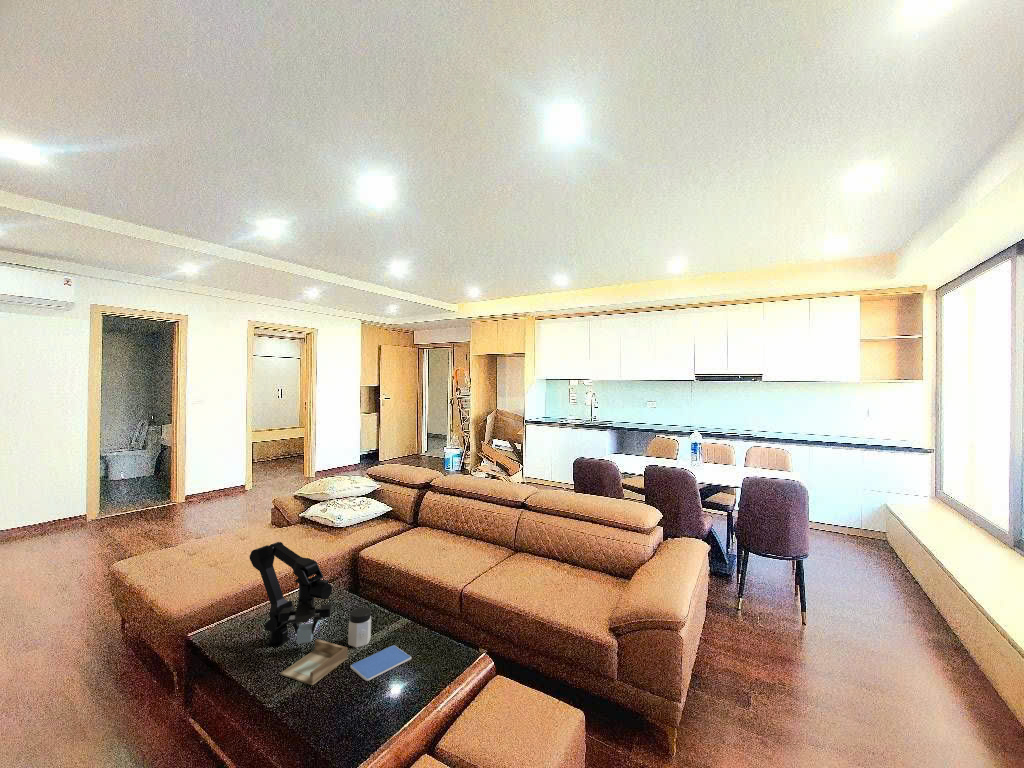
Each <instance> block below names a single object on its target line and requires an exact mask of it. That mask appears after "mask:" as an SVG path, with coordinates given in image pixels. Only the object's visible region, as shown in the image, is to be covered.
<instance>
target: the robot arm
mask: <svg viewBox="0 0 1024 768" xmlns="http://www.w3.org/2000/svg"><path fill="white" fill-rule="evenodd" d="M275 558H276V559H278V560H279V561H281V562H282V563H284V564H285V565H287V566H288V567H290V568H291V569H292V572H293V575H295V576H296V577H297V579H295V580H294V582H295V583H296V584H298V600H297V602H298V603H297V606H296V609H295V607H294V606H293V601H292V600H287V599H285V597H284V593H283V591H282V588H281V586H280V581H279V580H278V576H277V574H276V570H275V568H274V561H275ZM249 560H250V561H249V562H250V563H251V565H252V567H253V568H254V569H256V570H257V571H259V574H260V576H261V579H262V583H263V585H264V588H265V591H266V594H267V598H268V599H269V604H270V608H269V609H270V610H269V614H268V616H269V620H268V621H266V623H264V628H265V629H264V630H265V631H268V632H269V635H268V640H267V641H266V642H265V645H269V646H272V647H275V648H279V647H280V646H281V645H283V644H285V643H286V642H288V641H290V640H291V637H289V636H288V635H289V632H288V625H289V624H291V625H292V626H293V628H294V632H295V634H296V635H297V630H298V628H299V625H300V623H308V622H309V621H310V619H312V618H313V619H312V623H313V627H312V634H313V635H314V632H315V629H316V627H317V624H318V622H319V620H320V621H321V620H322V619H323V618H330V617H331V614H332V611H333V604H332V603H327V604H321V606H320V607H317V608H316V607H315V599H320V600H325V601H326V600H328V599H329V598H330V597H331V595H332V592H333V586H332V584H331V583H329V580H327V579H324V575H323V572H322V571H321V568H320V566H319V563H318V562H317V561H316V560H315V559H312V558H308V557H302V556H300V555H299V554H297V553H296V552H294V551H293V550H292V549H290V548H289V547H287V546H286V545H284V543H283V542H281V541H277V542H274V543H272V544H271V543H270V545H267V544H266V545H263V546H261V547H258V548H256V549H253V550H251V552H250V554H249Z"/></svg>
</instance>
